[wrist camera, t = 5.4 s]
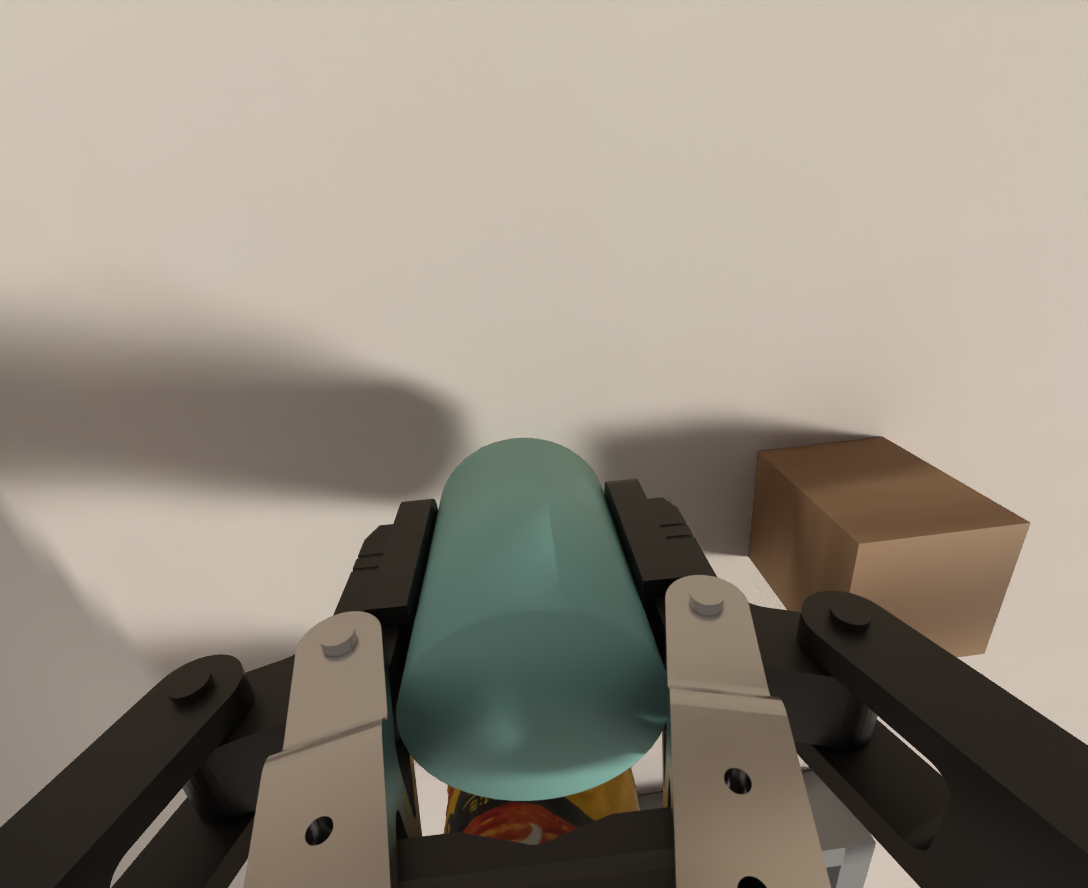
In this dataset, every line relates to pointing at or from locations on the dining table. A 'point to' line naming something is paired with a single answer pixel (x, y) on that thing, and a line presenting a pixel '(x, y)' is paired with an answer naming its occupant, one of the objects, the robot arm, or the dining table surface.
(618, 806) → the condiment
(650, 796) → the collection tray
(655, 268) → the dining table surface
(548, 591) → the teal cylinder
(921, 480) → the walnut block
